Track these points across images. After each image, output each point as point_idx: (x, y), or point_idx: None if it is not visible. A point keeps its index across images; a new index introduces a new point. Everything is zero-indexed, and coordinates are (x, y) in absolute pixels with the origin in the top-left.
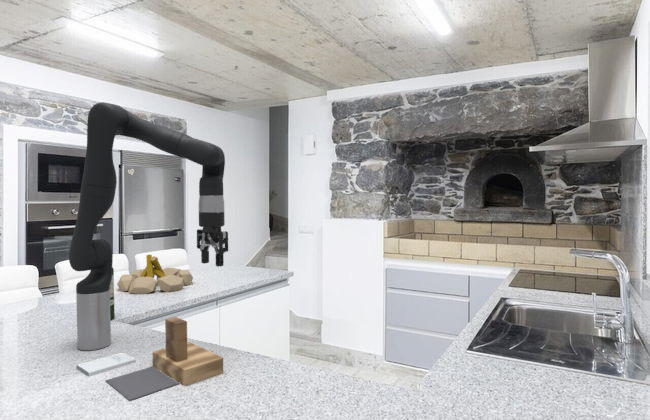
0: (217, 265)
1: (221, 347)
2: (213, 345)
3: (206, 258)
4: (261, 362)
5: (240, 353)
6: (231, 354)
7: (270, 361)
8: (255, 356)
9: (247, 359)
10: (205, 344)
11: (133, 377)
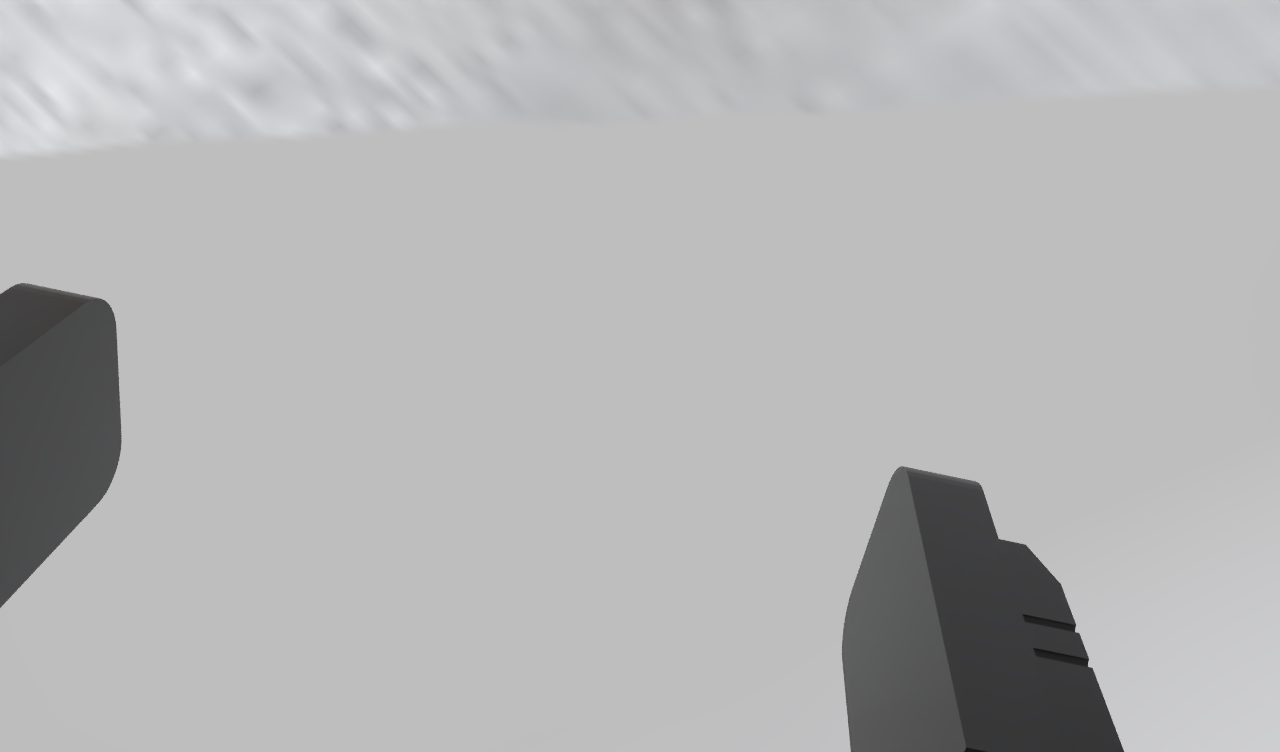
0: (22, 301)
1: (655, 97)
2: (765, 94)
3: (871, 659)
4: (83, 20)
5: (389, 79)
6: (434, 14)
7: (50, 80)
8: (232, 98)
9: (226, 4)
10: (858, 70)
11: None
